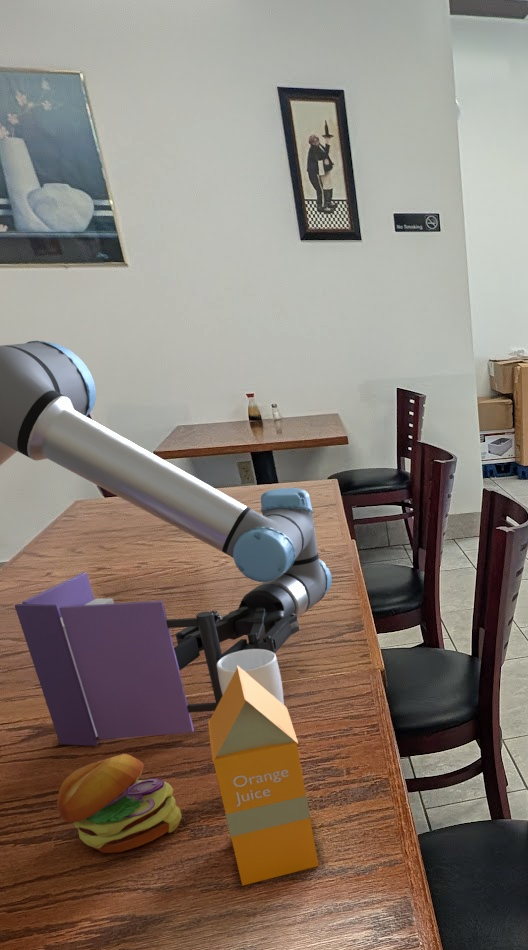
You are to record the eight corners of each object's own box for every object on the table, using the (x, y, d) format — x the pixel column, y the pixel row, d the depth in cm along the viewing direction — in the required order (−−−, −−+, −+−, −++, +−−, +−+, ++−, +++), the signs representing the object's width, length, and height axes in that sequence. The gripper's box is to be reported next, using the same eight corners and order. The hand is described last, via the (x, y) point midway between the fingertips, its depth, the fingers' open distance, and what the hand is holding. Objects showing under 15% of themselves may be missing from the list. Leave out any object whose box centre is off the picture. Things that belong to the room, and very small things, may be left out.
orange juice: (240, 886, 82) (199, 707, 73) (234, 838, 89) (195, 671, 80) (320, 865, 84) (289, 691, 76) (307, 821, 92) (278, 657, 83)
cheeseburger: (169, 855, 86) (121, 778, 82) (74, 880, 87) (21, 806, 82) (198, 800, 95) (157, 729, 91) (112, 824, 96) (67, 754, 91)
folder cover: (102, 735, 110) (63, 604, 102) (239, 724, 112) (211, 595, 104) (96, 742, 108) (56, 609, 100) (235, 731, 110) (207, 601, 102)
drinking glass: (300, 753, 105) (280, 646, 99) (293, 781, 99) (272, 668, 93) (245, 759, 104) (221, 650, 98) (235, 787, 98) (209, 673, 92)
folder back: (59, 744, 109) (14, 605, 100) (119, 700, 120) (82, 572, 112) (95, 746, 108) (52, 606, 99) (151, 701, 120) (117, 572, 111)
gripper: (337, 631, 127) (272, 696, 106) (218, 626, 129) (132, 689, 109) (330, 584, 124) (262, 642, 103) (209, 581, 126) (118, 636, 105)
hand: (195, 666), depth 106 cm, fingers closed on folder cover, 7 cm apart
